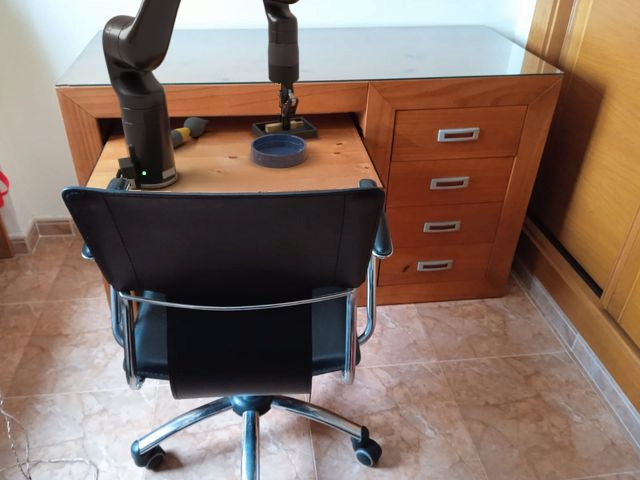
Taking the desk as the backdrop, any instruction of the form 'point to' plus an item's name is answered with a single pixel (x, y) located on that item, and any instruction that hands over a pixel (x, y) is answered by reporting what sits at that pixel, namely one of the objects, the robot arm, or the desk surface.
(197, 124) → the paintbrush
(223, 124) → the desk surface
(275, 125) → the wooden stick
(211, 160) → the desk surface
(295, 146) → the bowl
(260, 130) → the pen tray
